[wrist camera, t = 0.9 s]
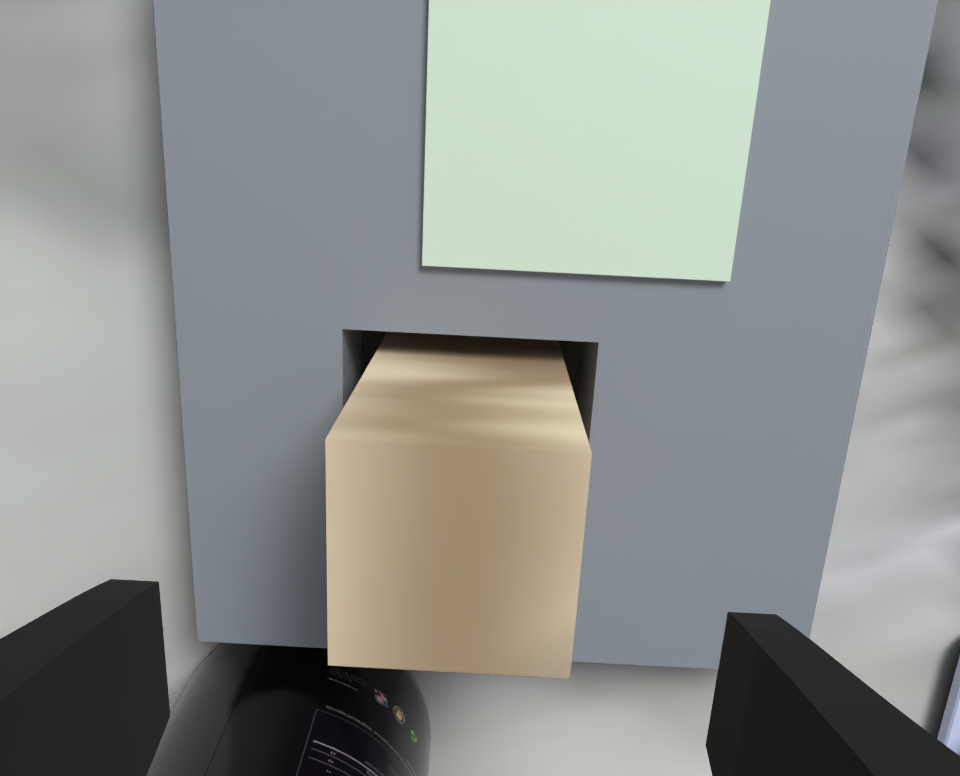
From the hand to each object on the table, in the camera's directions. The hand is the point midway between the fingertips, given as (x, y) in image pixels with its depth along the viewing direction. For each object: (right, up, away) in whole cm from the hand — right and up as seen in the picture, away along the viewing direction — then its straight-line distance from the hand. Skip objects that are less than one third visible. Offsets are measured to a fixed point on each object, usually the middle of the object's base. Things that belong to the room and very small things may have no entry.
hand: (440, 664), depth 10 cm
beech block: (0, +3, +9) cm, 10 cm away
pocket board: (+1, +6, +8) cm, 10 cm away
